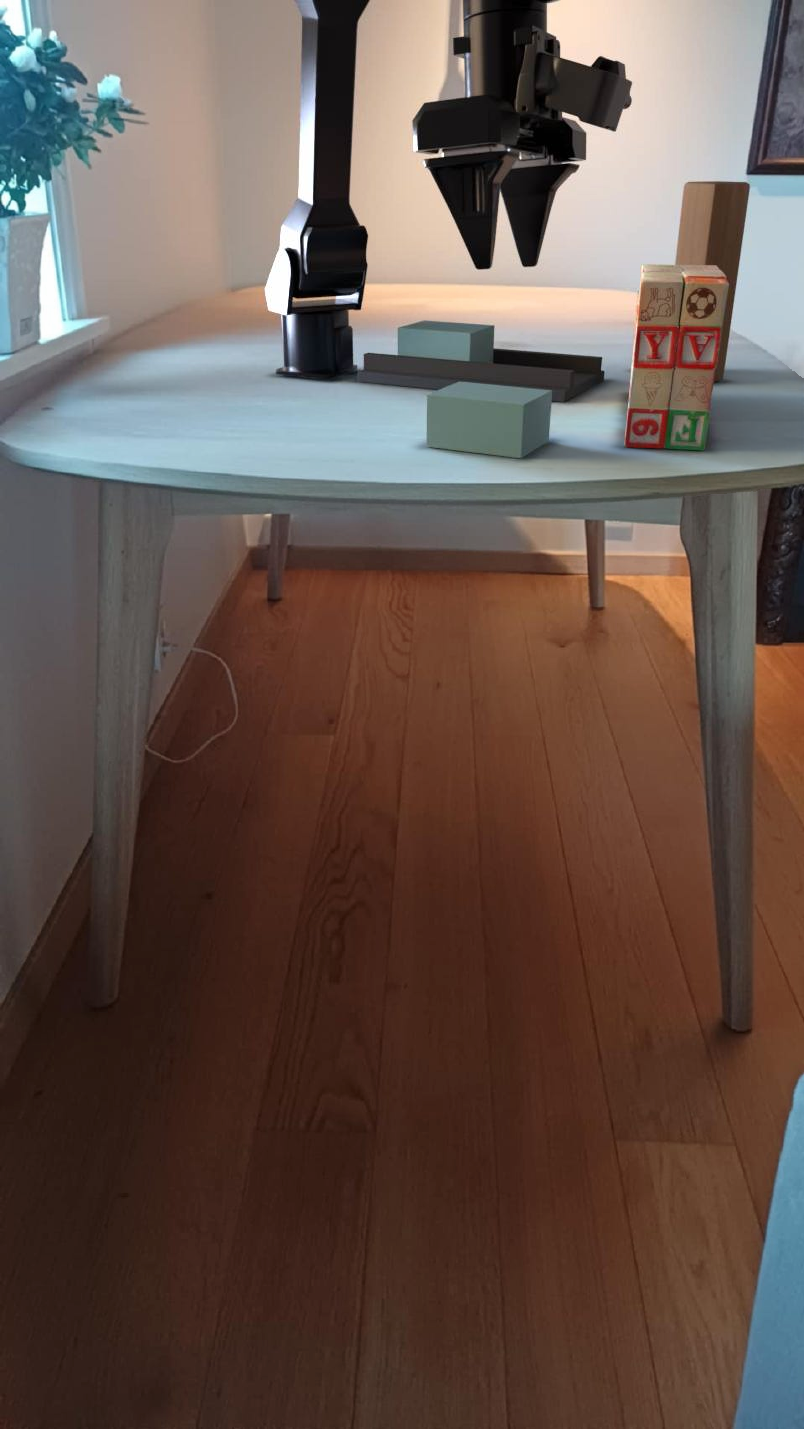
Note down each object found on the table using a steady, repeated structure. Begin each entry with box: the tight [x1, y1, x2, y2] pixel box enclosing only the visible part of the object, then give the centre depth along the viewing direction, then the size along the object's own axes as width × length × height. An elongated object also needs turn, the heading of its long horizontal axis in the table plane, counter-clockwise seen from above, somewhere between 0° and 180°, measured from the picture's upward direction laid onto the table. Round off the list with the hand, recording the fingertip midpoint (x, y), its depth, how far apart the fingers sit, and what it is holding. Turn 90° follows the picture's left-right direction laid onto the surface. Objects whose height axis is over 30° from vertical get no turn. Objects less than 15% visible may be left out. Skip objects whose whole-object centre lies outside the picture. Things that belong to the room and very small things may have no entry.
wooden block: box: [674, 180, 751, 382], centre depth 104 cm, size 9×4×18 cm, turn 27°
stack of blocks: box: [623, 263, 729, 451], centre depth 88 cm, size 21×6×12 cm, turn 168°
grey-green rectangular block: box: [425, 382, 552, 459], centre depth 82 cm, size 8×6×4 cm
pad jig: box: [357, 320, 606, 403], centre depth 105 cm, size 22×12×5 cm, turn 63°
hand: (507, 268), depth 78 cm, fingers open, 9 cm apart
